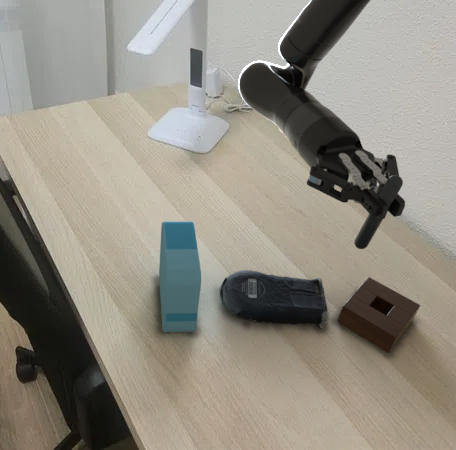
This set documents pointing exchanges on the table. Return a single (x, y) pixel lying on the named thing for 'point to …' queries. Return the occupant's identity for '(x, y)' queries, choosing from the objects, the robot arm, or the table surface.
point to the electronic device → (274, 298)
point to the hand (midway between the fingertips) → (392, 212)
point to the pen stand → (378, 314)
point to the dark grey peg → (371, 222)
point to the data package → (179, 277)
